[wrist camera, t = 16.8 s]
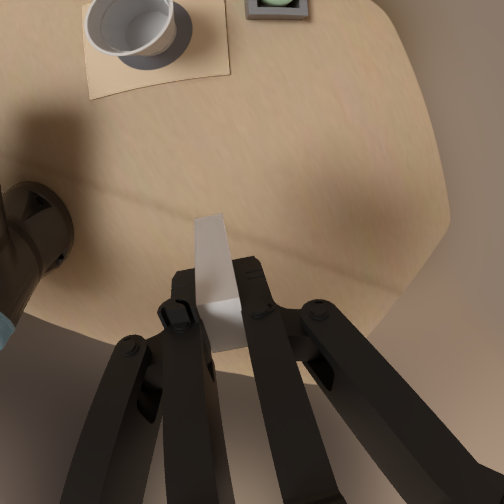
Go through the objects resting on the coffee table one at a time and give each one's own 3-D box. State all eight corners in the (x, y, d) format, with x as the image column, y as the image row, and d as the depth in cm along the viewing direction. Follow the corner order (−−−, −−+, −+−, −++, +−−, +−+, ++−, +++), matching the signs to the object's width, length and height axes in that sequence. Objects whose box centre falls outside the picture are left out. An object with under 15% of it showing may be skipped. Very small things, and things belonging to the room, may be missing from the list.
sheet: (91, 100, 31) (89, 100, 30) (83, 6, 23) (81, 6, 22) (229, 74, 32) (229, 74, 32) (222, -22, 24) (222, -24, 24)
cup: (121, 9, 24) (88, -15, 14) (185, 3, 26) (177, -28, 16) (118, 66, 29) (82, 62, 19) (181, 60, 30) (170, 51, 20)
